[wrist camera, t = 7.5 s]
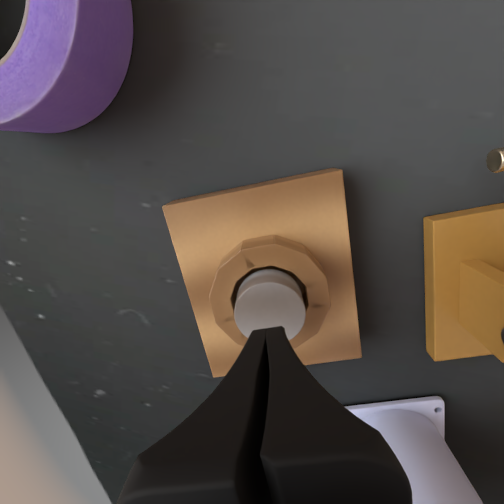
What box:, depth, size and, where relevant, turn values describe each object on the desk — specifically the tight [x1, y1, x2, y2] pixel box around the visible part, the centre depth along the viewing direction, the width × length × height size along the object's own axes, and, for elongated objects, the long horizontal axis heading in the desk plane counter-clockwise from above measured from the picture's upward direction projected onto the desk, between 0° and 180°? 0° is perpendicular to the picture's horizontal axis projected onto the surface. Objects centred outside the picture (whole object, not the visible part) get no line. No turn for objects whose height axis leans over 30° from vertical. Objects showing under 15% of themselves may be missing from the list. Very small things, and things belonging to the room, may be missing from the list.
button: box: [234, 269, 306, 340], centre depth 15 cm, size 4×4×2 cm
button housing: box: [162, 168, 362, 377], centre depth 18 cm, size 12×10×4 cm
